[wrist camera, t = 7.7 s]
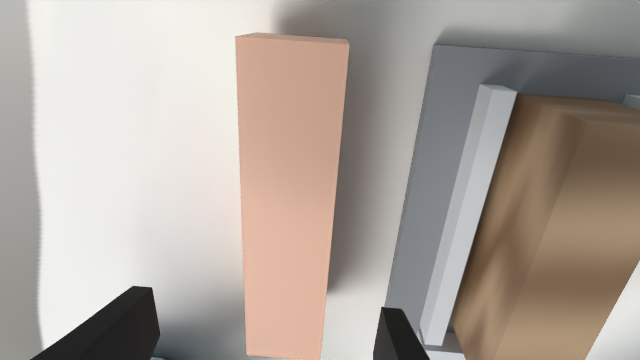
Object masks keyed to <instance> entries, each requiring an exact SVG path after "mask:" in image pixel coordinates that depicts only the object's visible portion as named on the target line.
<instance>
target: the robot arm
mask: <svg viewBox="0 0 640 360" xmlns="http://www.w3.org/2000/svg"><path fill="white" fill-rule="evenodd" d="M159 337H160V330H159V324H158V319H157V313H156V307H155V302H154V296H153V290H152V288H151V287H139V286H132V287H131V288H129V289H128V290H127V291H125V292H124V293H122V294H121V295H120V296H118V297H117V298H116V299H114V300H113V301H112V302H110V303H109V304H108V305H106V306H105V307H104V308H102V309H101V310H100V311H98V312H97V313H96V314H94V315H93V316H92V317H90V318H89V319H88V320H86V321H85V322H83V323H82V324H81V325H79V326H78V327H77V328H75V329H74V330H73V331H71V332H70V333H68V334H67V335H66V336H64V337H63V338H61V339H60V340H59V341H57V342H56V343H54V344H53V345H51V346H50V347H48V348H47V349H45V350H44V351H42V352H41V353H40V354H38V355H37V356H35V357H34V358H32V359H31V360H150V359H151V356H152V354H153V352H154V349H155V347H156V344H157V342H158V339H159ZM373 360H430V358H429V356H428V355H427V353H426V351H425V350H424V348H423V346H422V344H421V343H420V341H419V339H418V337H417V336H416V334H415V332H414V330H413V328H412V326H411V324H410V322H409V321H408V319H407V317H406V315H405V313H404V311H403V310H402V309H400V308H388V307H381V313H380V318H379V324H378V329H377V335H376V340H375V345H374V351H373Z"/></svg>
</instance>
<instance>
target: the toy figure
mask: <svg viewBox="0 0 640 360" xmlns="http://www.w3.org/2000/svg"><path fill="white" fill-rule="evenodd" d="M150 360H165V359H162V358H155V357H151V359H150Z"/></svg>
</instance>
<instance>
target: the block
mask: <svg viewBox="0 0 640 360" xmlns="http://www.w3.org/2000/svg"><path fill="white" fill-rule="evenodd" d="M235 41H236V70H237V99H238V127H239V156H240V184H241V213H242V242H243V270H244V299H245V328H246V355H252V356H263V357H274V358H286V359H297V360H320V358H321V347H322V337H323V326H324V315H325V305H326V294H327V283H328V272H329V262H330V251H331V240H332V230H333V219H334V208H335V197H336V187H337V176H338V165H339V155H340V144H341V133H342V122H343V112H344V101H345V90H346V79H347V69H348V58H349V47H350V44H349V42H348V39H339V38H325V37H311V36H297V35H283V34H269V33H252V34H246V35H240V36H235Z"/></svg>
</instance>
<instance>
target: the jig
mask: <svg viewBox="0 0 640 360" xmlns="http://www.w3.org/2000/svg"><path fill="white" fill-rule="evenodd" d="M517 93H521V94H535V95H549V96H562V97H576V98H590V99H604V100H608V101H611V102H615V103H618V104H621V105H625V106H628V107H631V108H634V109H638V110H640V59H634V58H620V57H606V56H592V55H578V54H564V53H550V52H536V51H522V50H508V49H494V48H480V47H466V46H452V45H438V44H434V46H433V51H432V56H431V62H430V67H429V72H428V78H427V83H426V88H425V94H424V99H423V104H422V110H421V115H420V120H419V126H418V131H417V136H416V142H415V147H414V152H413V158H412V163H411V168H410V174H409V179H408V184H407V190H406V195H405V200H404V206H403V211H402V216H401V222H400V227H399V232H398V238H397V243H396V248H395V254H394V259H393V264H392V270H391V275H390V280H389V286H388V291H387V296H386V302H385V307H388V308H400V309H402V310H403V311H404V313H405V315H406V317H407V319H408V321H409V322H410V324H411V326H412V328H413V330H414V332H415V334H416V336H417V337H418V339H419V341H420V343H421V344H422V346H423V348H424V350H425V351H426V353H427V355H428V356H429V358H430V360H466V359H465V357H464V354H463V351H462V349H461V346H460V343H459V341H458V338H457V335H456V332H455V330H454V327H453V324H452V322H451V319H450V318H451V315H452V311H453V308H454V305H455V301H456V298H457V295H458V291H459V288H460V284H461V281H462V278H463V274H464V271H465V268H466V264H467V261H468V258H469V254H470V251H471V247H472V244H473V241H474V237H475V234H476V231H477V227H478V224H479V220H480V217H481V214H482V210H483V207H484V204H485V200H486V197H487V193H488V190H489V187H490V183H491V180H492V177H493V173H494V170H495V166H496V163H497V160H498V156H499V153H500V150H501V146H502V143H503V140H504V136H505V133H506V129H507V126H508V123H509V119H510V116H511V113H512V109H513V106H514V102H515V99H516V96H517Z"/></svg>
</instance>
